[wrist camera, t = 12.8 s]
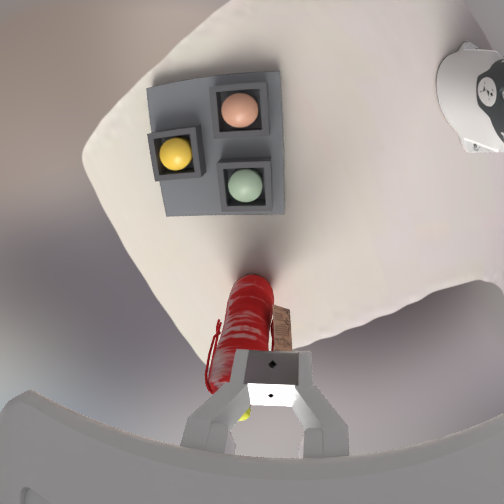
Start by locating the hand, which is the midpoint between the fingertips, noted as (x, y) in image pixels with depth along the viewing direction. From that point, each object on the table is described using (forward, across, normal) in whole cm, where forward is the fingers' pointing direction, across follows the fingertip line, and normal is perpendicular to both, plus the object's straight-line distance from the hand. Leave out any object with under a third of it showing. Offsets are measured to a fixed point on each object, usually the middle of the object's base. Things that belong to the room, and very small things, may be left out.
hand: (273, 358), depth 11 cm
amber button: (+29, +14, -3) cm, 32 cm away
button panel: (+31, +9, -3) cm, 32 cm away
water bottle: (+31, +4, +22) cm, 38 cm away
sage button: (+29, +5, +2) cm, 29 cm away
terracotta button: (+29, +5, -8) cm, 30 cm away
